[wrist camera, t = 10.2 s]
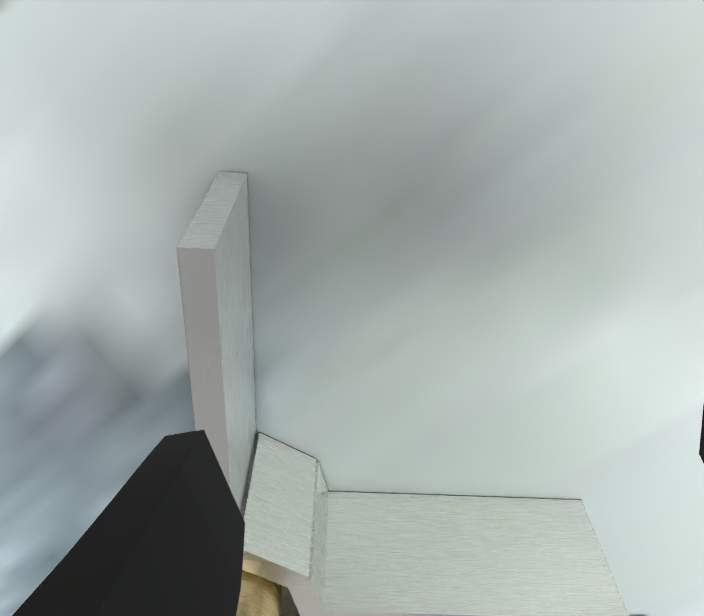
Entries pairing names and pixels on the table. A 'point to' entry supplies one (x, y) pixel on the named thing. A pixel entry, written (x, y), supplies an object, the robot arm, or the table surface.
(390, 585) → the steel hinge
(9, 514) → the table surface
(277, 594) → the hinge pin
